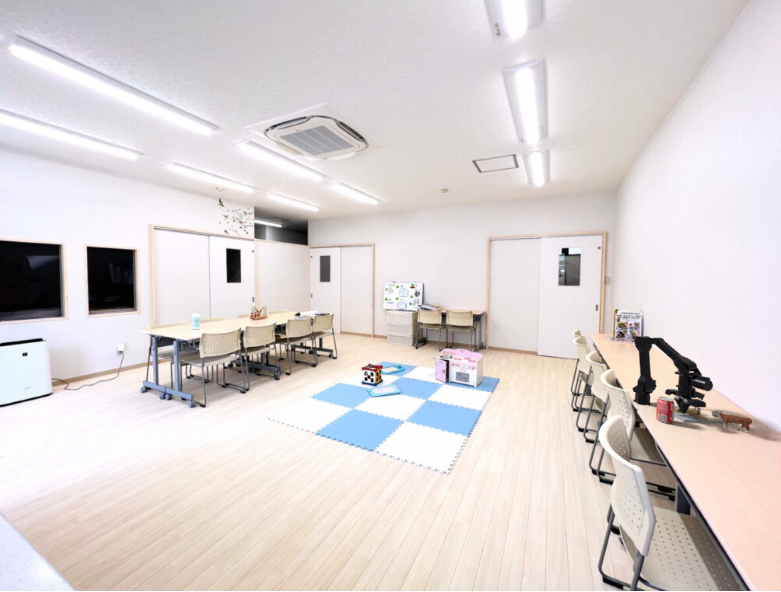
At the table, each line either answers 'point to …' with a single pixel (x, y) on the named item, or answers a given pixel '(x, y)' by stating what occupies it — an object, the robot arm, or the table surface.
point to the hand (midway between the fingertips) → (683, 413)
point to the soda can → (665, 410)
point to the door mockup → (699, 417)
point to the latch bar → (690, 410)
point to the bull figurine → (733, 420)
